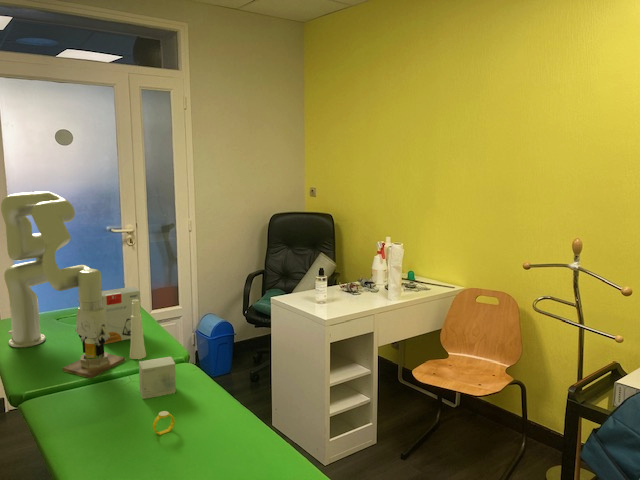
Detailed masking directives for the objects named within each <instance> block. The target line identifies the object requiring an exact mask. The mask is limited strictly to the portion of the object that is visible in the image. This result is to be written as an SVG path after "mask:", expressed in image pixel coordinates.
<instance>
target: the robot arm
mask: <svg viewBox="0 0 640 480" xmlns="http://www.w3.org/2000/svg"><path fill="white" fill-rule="evenodd" d="M0 212H1V215H2V218H3V220H4V223H5V231H6V232H5V235H6V249H7V255H8V257H9V259H11V260H12V261H15V262H19V261H20V262H21V261H26V262H21V263H16V264H13V265H11V266H9V267H7V268H6V269H5V271H4V275H3V276H4V281H5V284H6V288H7V293H8V298H9V308H10V320H11V328H10V329H11V330H9V331H7V334H8V335H9V336H10V335H11V338H10V339H9V340H8V345H9V346H10V347H13V348H29V347H34V346H37V345H39V344H41V343H44V341H45V340H46V336H45V334H42V333H41V324H40V312H39V310H40V308H39V299H38V296H37V294H36V292H34V290H32V287H34V286H39V285H41V284H42V285H43V284H46V283H48V284H49V285H50V287H51V288H52V289H53V290H55V291H59V292H64V291H68V290H71V289H75V288H77V293H78V308H77V312H76V319H75V323H76V328H75V332H76V334H77V335H78V336H79V338H80V342H81V343H82V353H83V354H85V339H86V338H87V337H89V338H94V339H96V343H97V345H96V356H100V355H102V354H104V352H105V344H104V343H105V342H106V341H107V339H109V338H110V335H109V333H108V332H107V324H106V317H105V312H104V308H103V303H102V291H103V289H102V288H103V287H102V273H101V270H99V269H96V268H91V267H89V266H88V265H86V264H78V265H73V266H68V267H64V268H59V266H58V264H57V261H56V258H55V257H56V252H57V251H58V250H60V249H61V248H63V247H65V246H66V245H67V244H69V242H70V241H71V234H70V233H69V230H68V229H67V226H66V224H65V223H69V222H71V221H73V220H74V219H75V215H76V213H75V208H74V206H73V204H72V203H70V201H69V200H67V199H66V198H64V197H62V196H60V195H58V194H56V193H54V192H51V191H34V192H32V191H30V192H17V193H12V194H9V195H6V196H5V197H3V199H2V200H1V203H0ZM27 216H31V217H32V219H33V222H34V224H35V226H36V228H37V229H38V231H39V232H36V233H35V232H34V233H33V227H32V226H33V225H32V222H31V221H30V219H29V217H27ZM32 259H33V260H32ZM34 259H35V260H34ZM28 260H32V261H28ZM99 338H101V340H99Z"/></svg>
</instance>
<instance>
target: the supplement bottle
mask: <svg viewBox="0 0 640 480" xmlns="http://www.w3.org/2000/svg"><path fill="white" fill-rule="evenodd" d="M99 340H101V338H99ZM96 345H97V343H96V339H94V338H89V337H87V338H86V339H85V353H84V354H85V355H86V360H97V359H100V358H101V357H102V355H100V356H96Z"/></svg>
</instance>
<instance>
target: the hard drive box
mask: <svg viewBox="0 0 640 480" xmlns="http://www.w3.org/2000/svg"><path fill="white" fill-rule="evenodd" d="M135 299H137V300H139V303H140V304H141V290H139V289H138V288H136V287H135V286H128V287H122V288H115V289H107V290H102V303H103V308H104V312H105V317H106V324H107V332H108V333H109V335H110V338H109V339H107V341H106V342H105V343H104V345H106V344H107V345H108V344H113V343H116V342H121V341H126V340H131V315H132V303H133V302H132V300H135ZM141 311H142V310H141V309H140V315H141V314H142V313H141ZM141 316H142V315H141Z"/></svg>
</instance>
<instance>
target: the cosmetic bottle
mask: <svg viewBox="0 0 640 480" xmlns="http://www.w3.org/2000/svg"><path fill="white" fill-rule="evenodd" d="M132 302H133V303H132V315H131V339H130V347H129V359H130V358H131V360H133V359H138V360H143V359H144V358H146V357H147V352H146V347H145V340H144V339H145V338H144V330H143V329H144V328H143V318H142V315H140V310H141V302H140V303H139V300H137V299H135V300H132ZM142 358H143V359H142Z"/></svg>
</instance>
